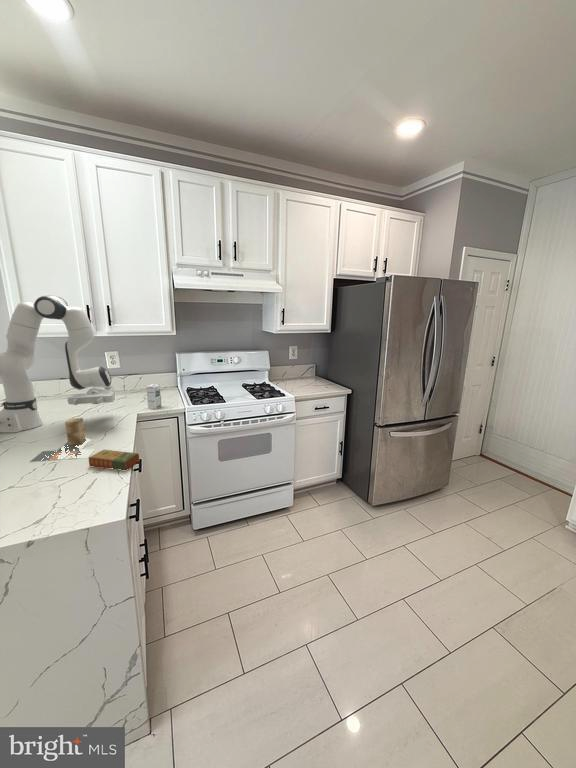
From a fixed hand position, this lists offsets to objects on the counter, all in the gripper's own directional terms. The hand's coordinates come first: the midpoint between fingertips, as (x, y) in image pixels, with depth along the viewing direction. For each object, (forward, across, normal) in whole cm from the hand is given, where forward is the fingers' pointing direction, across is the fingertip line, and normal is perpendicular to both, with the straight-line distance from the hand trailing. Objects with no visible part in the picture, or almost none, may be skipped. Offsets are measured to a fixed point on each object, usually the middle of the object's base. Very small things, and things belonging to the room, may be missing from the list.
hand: (85, 402), depth 152 cm
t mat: (+18, -1, +16) cm, 24 cm away
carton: (+37, +22, +17) cm, 46 cm away
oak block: (+13, -1, +15) cm, 20 cm away
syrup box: (-40, +22, +16) cm, 49 cm away
